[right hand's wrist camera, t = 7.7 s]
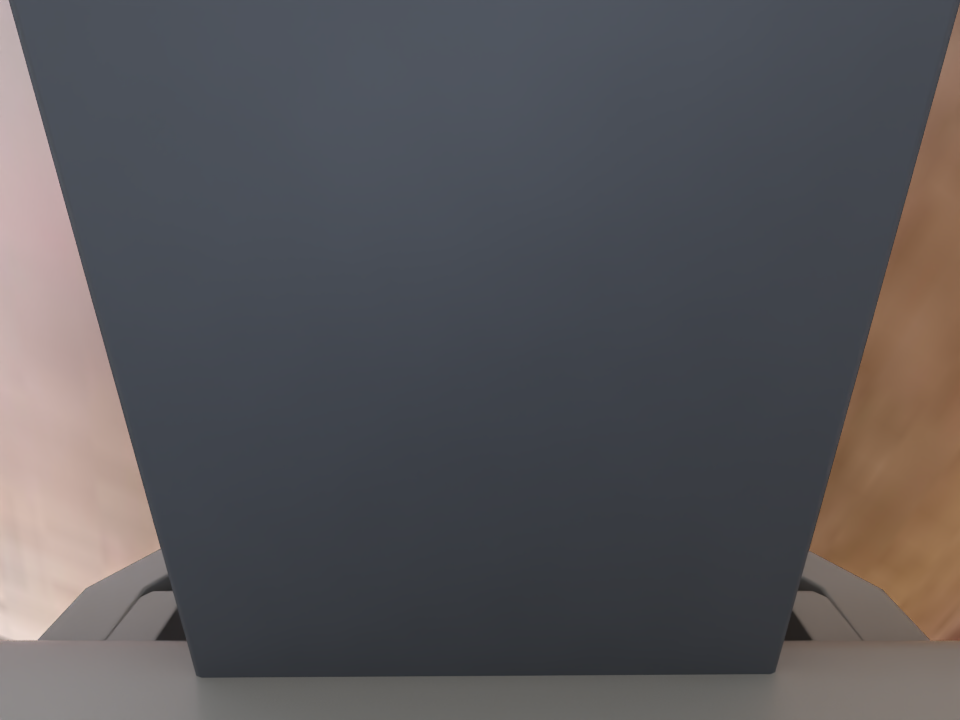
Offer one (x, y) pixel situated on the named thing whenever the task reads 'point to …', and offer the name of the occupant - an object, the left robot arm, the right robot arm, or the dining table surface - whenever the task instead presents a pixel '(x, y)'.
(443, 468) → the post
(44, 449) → the dining table surface
